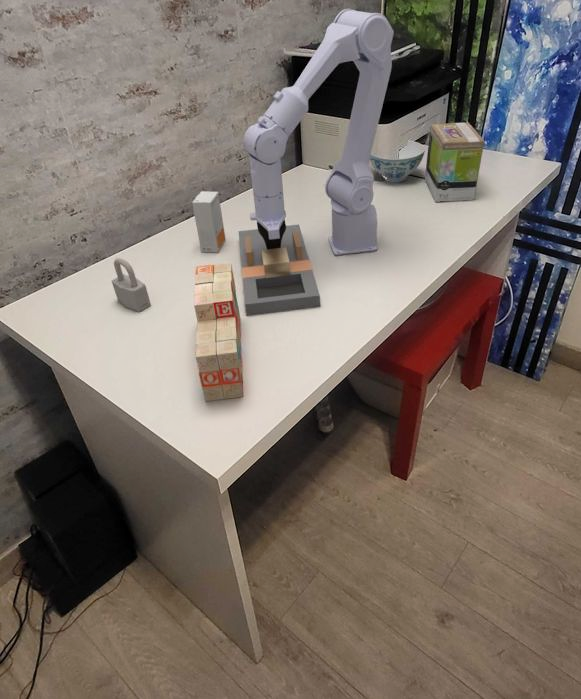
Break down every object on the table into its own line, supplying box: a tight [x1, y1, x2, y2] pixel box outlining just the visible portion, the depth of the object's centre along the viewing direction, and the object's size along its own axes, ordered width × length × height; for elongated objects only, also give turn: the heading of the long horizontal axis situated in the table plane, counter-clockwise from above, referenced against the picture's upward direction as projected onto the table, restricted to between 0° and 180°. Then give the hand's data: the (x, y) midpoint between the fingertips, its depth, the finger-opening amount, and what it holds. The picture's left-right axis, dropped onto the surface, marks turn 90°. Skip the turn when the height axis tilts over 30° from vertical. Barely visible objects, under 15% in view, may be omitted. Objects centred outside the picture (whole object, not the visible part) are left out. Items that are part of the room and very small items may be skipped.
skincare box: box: [191, 190, 227, 253], centre depth 117 cm, size 6×4×12 cm
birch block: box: [262, 247, 290, 278], centre depth 106 cm, size 5×6×3 cm
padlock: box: [111, 257, 152, 313], centre depth 102 cm, size 7×4×10 cm, turn 51°
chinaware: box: [369, 139, 426, 183], centre depth 143 cm, size 15×15×8 cm
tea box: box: [424, 122, 485, 203], centre depth 132 cm, size 15×10×15 cm
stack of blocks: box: [193, 262, 244, 402], centre depth 86 cm, size 21×6×12 cm, turn 6°
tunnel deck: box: [238, 224, 321, 316], centre depth 109 cm, size 14×30×6 cm, turn 7°
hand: (274, 254), depth 109 cm, fingers closed
